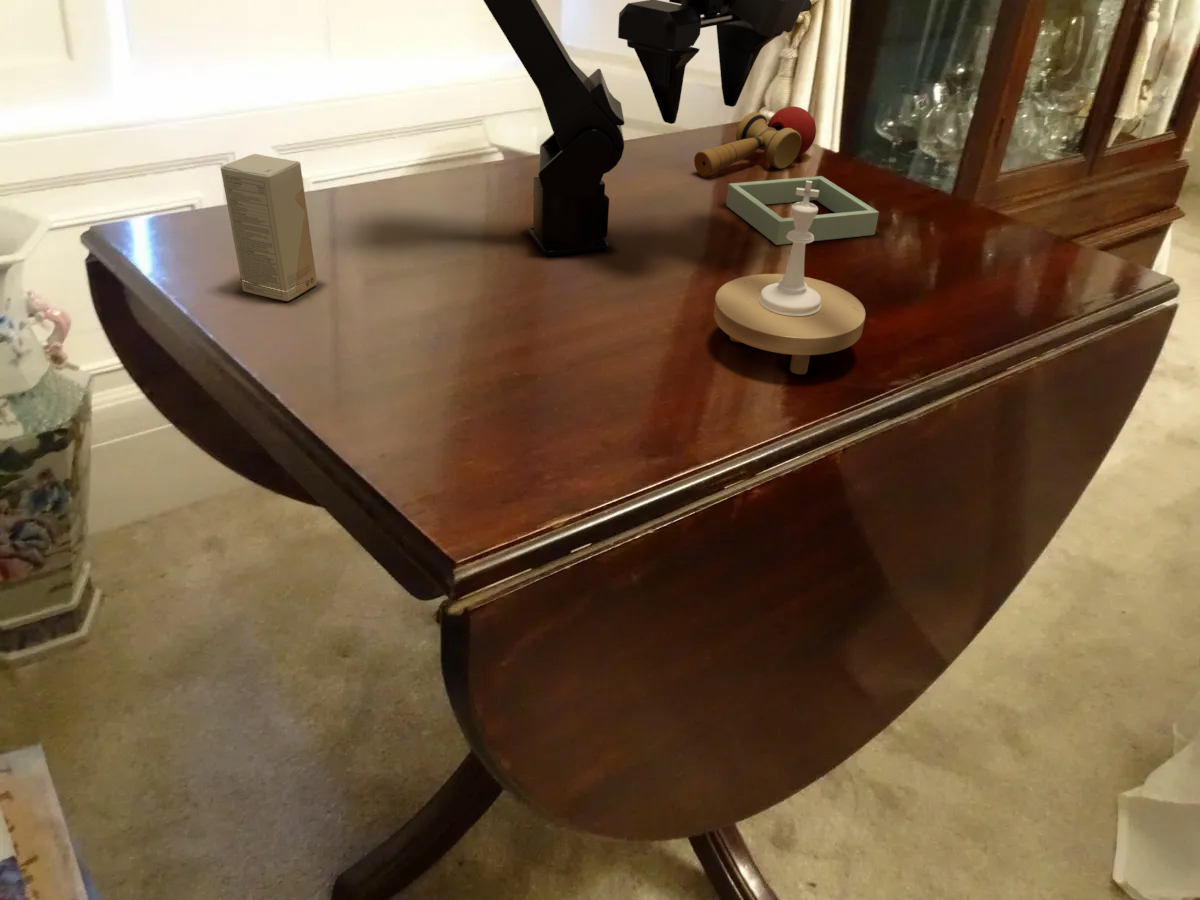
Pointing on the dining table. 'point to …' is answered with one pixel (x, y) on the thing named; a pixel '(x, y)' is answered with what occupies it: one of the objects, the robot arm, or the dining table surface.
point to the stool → (789, 320)
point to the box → (270, 225)
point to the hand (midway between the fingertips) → (700, 114)
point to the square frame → (753, 197)
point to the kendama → (763, 140)
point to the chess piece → (795, 265)
